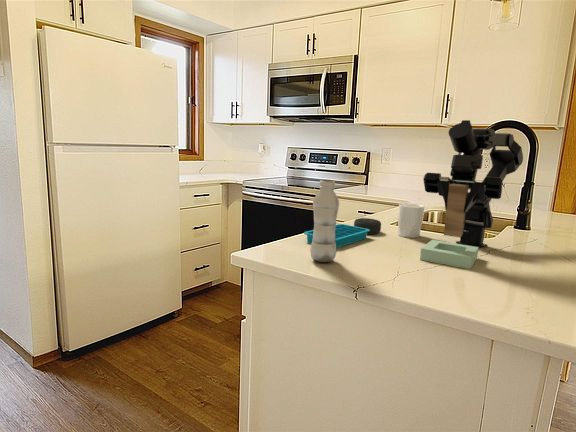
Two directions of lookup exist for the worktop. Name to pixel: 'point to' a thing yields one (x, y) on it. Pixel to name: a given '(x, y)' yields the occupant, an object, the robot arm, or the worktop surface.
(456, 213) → the brown square peg
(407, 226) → the white cup
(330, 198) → the plastic bottle
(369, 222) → the smart speaker
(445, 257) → the green square hole base
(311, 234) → the ice cube tray
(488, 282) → the worktop surface
